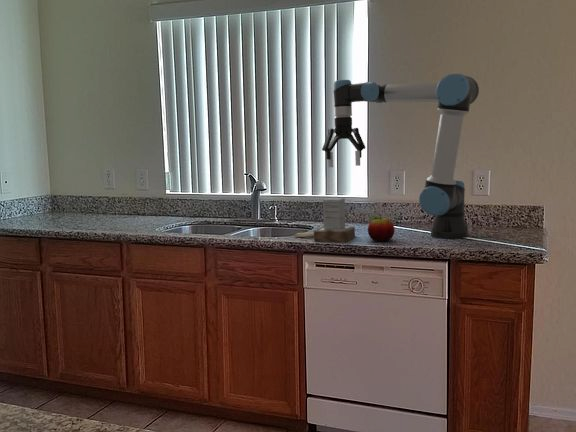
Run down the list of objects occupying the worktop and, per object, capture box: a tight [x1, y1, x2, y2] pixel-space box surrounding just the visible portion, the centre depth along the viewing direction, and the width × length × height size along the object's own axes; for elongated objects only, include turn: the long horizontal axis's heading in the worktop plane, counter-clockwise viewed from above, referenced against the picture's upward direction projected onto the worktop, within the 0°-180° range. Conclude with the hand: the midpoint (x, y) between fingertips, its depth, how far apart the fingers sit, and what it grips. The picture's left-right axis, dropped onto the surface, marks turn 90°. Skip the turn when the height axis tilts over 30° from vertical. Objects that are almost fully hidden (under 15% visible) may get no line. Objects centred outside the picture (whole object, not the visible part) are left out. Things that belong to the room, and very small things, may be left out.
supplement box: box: [322, 197, 346, 230], centre depth 231 cm, size 7×7×13 cm
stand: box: [313, 225, 356, 243], centre depth 232 cm, size 14×14×4 cm
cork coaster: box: [294, 231, 314, 238], centre depth 241 cm, size 10×10×1 cm
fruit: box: [367, 215, 395, 243], centre depth 224 cm, size 11×11×10 cm
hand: (344, 166), depth 240 cm, fingers open, 13 cm apart
